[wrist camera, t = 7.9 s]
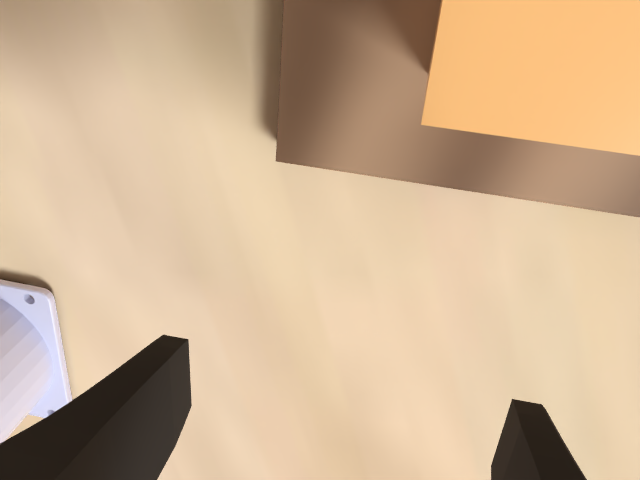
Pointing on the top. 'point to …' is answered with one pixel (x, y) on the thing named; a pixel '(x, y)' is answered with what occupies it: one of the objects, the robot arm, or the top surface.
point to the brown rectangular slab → (415, 114)
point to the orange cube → (538, 71)
